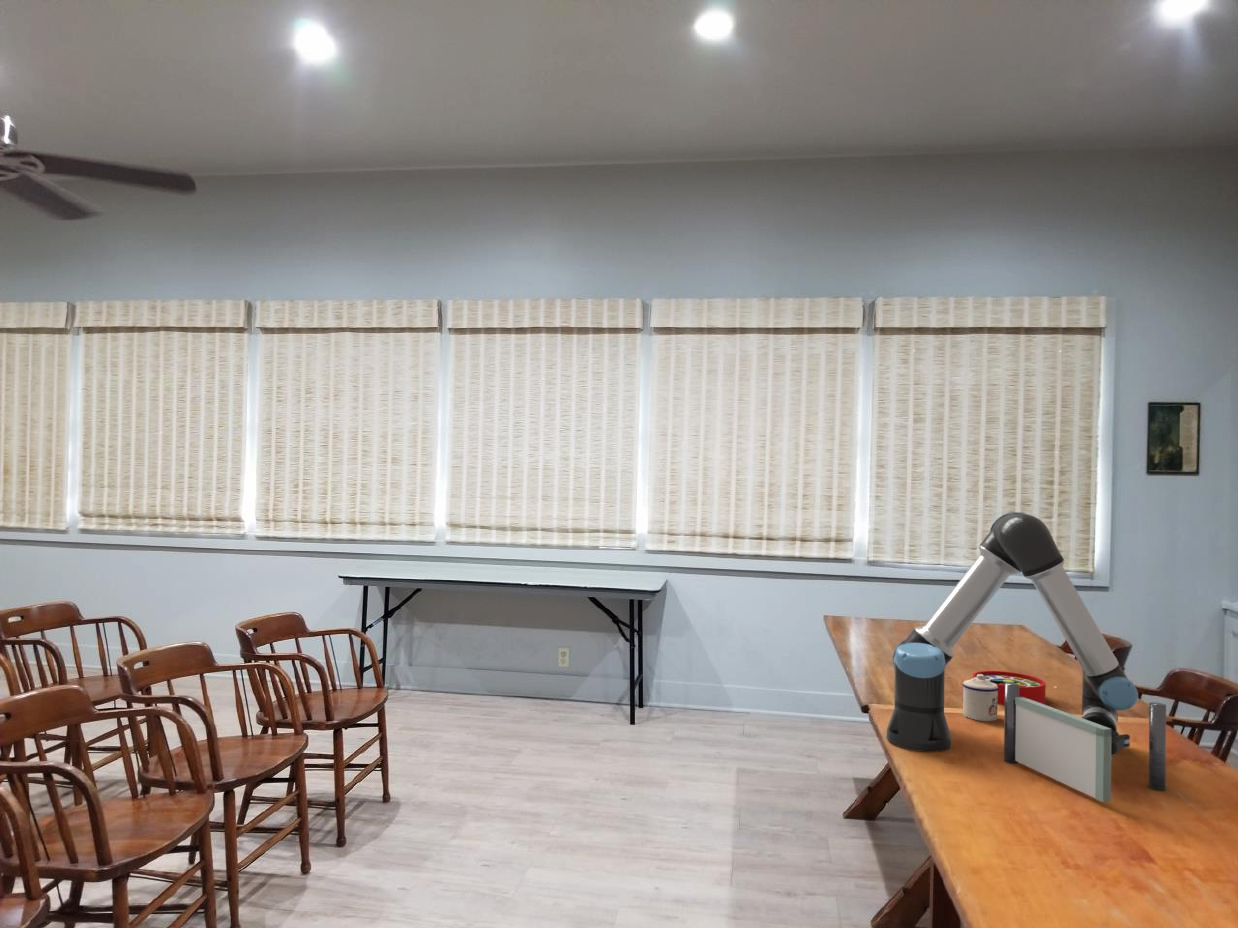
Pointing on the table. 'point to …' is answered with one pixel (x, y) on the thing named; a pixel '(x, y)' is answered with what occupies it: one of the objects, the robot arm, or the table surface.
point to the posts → (1155, 736)
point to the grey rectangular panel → (1064, 747)
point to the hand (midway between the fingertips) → (1094, 755)
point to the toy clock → (1027, 684)
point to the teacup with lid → (980, 699)
